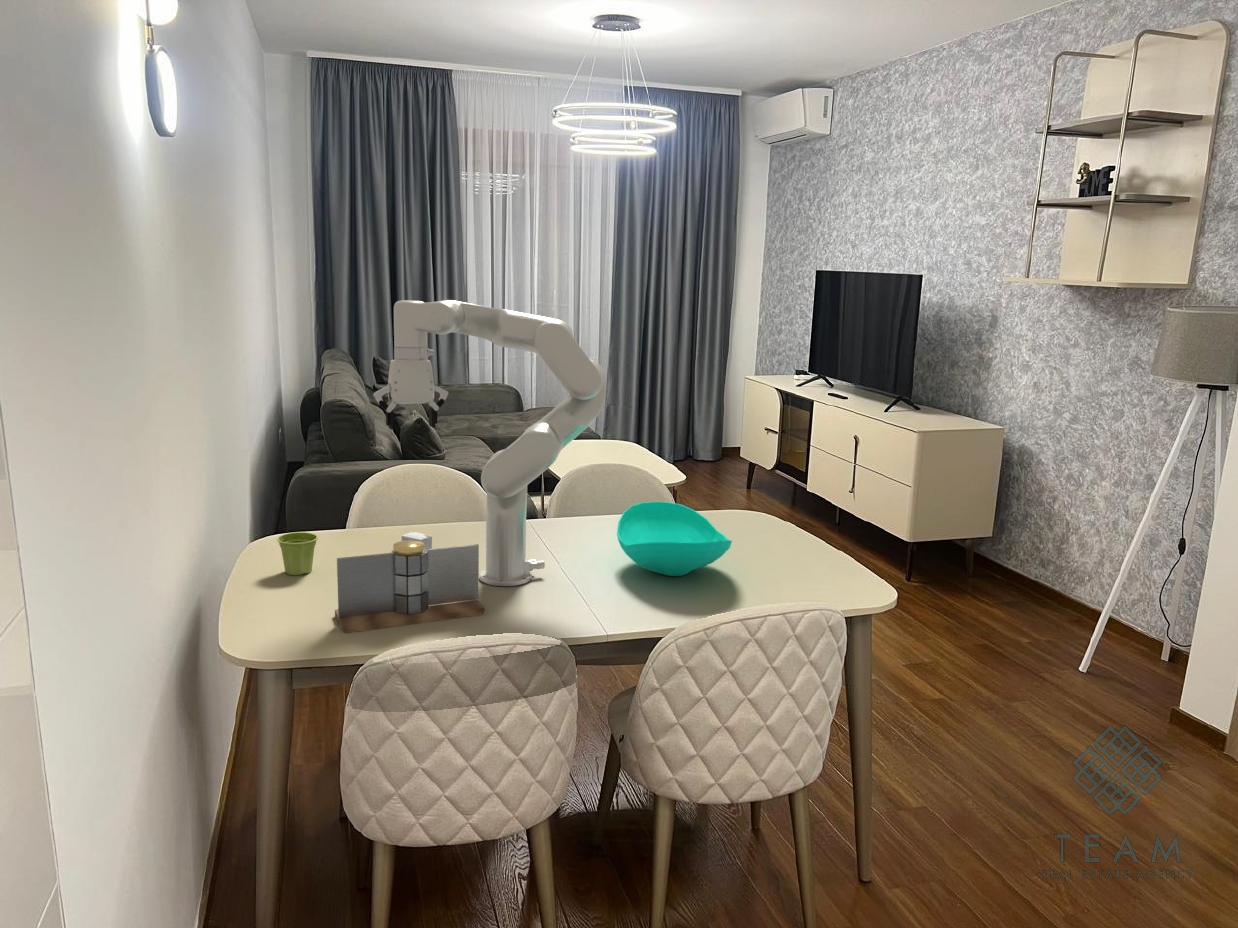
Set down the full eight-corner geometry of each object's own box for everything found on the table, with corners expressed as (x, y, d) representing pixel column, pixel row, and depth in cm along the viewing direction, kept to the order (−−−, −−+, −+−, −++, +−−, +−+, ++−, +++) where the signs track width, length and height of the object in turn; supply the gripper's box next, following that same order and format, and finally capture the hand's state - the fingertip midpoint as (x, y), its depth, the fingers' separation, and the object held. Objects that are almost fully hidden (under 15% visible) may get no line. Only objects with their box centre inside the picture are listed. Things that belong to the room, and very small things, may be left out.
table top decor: (750, 595, 222) (754, 541, 220) (636, 600, 216) (638, 545, 213) (700, 546, 260) (703, 500, 257) (602, 550, 254) (603, 502, 251)
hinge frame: (422, 601, 207) (422, 545, 204) (431, 612, 201) (431, 554, 198) (335, 611, 199) (334, 553, 196) (341, 623, 193) (340, 563, 190)
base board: (471, 599, 213) (471, 592, 213) (484, 614, 205) (484, 607, 204) (334, 616, 200) (334, 609, 200) (343, 632, 192) (343, 625, 191)
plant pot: (323, 566, 233) (322, 532, 231) (313, 578, 224) (311, 543, 222) (285, 565, 233) (284, 531, 231) (273, 577, 223) (271, 542, 222)
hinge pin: (420, 598, 206) (419, 539, 203) (428, 608, 201) (427, 547, 198) (391, 602, 203) (390, 542, 201) (398, 612, 198) (397, 550, 195)
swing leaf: (397, 614, 197) (396, 557, 195) (390, 603, 204) (389, 548, 201) (482, 603, 206) (483, 549, 203) (473, 593, 212) (473, 540, 209)
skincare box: (399, 584, 221) (399, 535, 219) (412, 579, 225) (412, 530, 223) (420, 589, 218) (419, 539, 216) (432, 584, 222) (432, 535, 220)
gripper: (443, 352, 225) (443, 423, 228) (369, 353, 217) (371, 426, 221) (452, 355, 218) (452, 428, 222) (376, 356, 211) (378, 432, 214)
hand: (411, 427), depth 221 cm, fingers open, 9 cm apart
